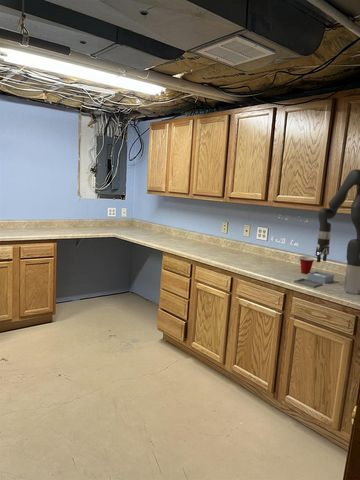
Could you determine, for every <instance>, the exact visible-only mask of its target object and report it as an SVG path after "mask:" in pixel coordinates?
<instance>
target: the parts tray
mask: <svg viewBox="0 0 360 480" xmlns="http://www.w3.org/2000/svg"><path fill="white" fill-rule="evenodd" d="M293 283H295V284H298V285H302V286H306V287H310V288H313V289H314V288H316V287H320V286H323V284H324V283H320V282H316V281H312V280H308V279H307V278H298V279H296V280H295V279H294V280H293Z"/></svg>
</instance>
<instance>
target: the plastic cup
mask: <svg viewBox="0 0 360 480" xmlns="http://www.w3.org/2000/svg"><path fill="white" fill-rule="evenodd" d="M315 259H316V258H315V257H313V256H310V255H301V256H299V261H300V262H299V263H300V273H301V274H304V275H308V273H311V270H312V266H313V263H314V260H315Z"/></svg>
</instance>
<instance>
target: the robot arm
mask: <svg viewBox="0 0 360 480" xmlns="http://www.w3.org/2000/svg"><path fill="white" fill-rule="evenodd" d="M354 186H356V194H355V197H354V199H353V201H352V202H351V205H350V220H351V222H352V224H353V226H354V228H355V230H356V231H355V232H356V238H353V239H350V240H349V241H348V244H347V246H346V261H347V263H346V269H345V277H344V285H343V291H344V292H346V293H348V294H354V295H360V169H358V168H357V169H355V168H354V169H352V170H350V172H349V173H348V174H347V175H346V177H345V179H344V181H343V182H342V185H341V186H340V187H339V189H338V190H337V192H336V193H335V195H333V196H332V198H331V199H330V200H329V202H328V207H327V208H326V207H324V208H323V207H322V208H320V210H319V211H318V223H319V229H318V230H319V231H318V236H317V245H318V246H316V247H315V248H316V250H315V257H316V263H321V261H324V262H327V257H328V255H330V242H331V229H332V225H331V223H330V222H328V220H331V219H333V218H334V217H335V216H336V214H337V212H338V210H339V209H340V207H341V206H343V204H344V203H345V201H346V199H347V196H348V193H349V191H350V189H352V188H353V187H354ZM322 255H323V256H322ZM321 258H322V260H321Z"/></svg>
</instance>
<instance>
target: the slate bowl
mask: <svg viewBox="0 0 360 480" xmlns="http://www.w3.org/2000/svg"><path fill="white" fill-rule="evenodd" d="M315 273H316V274H320V275H323V276H324V275H326V276H327V277H322V276H318V275H314V274H315ZM334 277H335V275H334V274H332V273H326V272H321V271H318V270H316V271H312V272H311V271H310V273H308V274H307V276H306V279H308V280H312V281H316V282H320V283H323V284H328V283H332V282H334Z"/></svg>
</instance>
